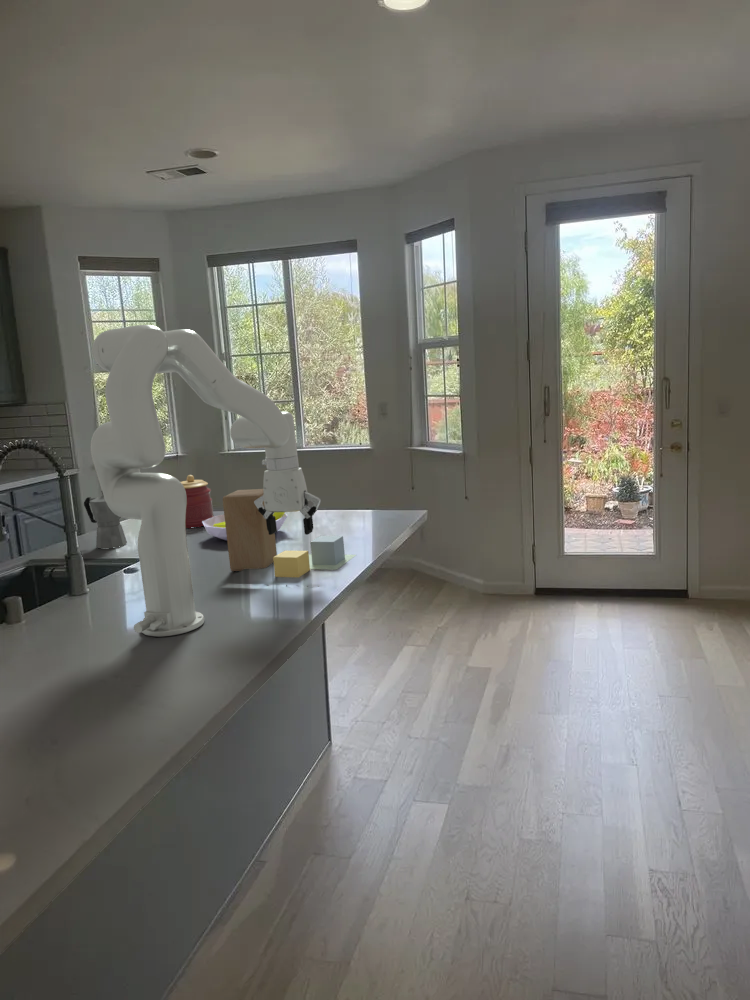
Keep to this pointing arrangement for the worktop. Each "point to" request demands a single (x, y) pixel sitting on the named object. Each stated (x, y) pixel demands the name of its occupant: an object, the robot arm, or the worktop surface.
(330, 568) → the plate
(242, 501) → the block
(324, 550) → the slate brick
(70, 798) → the worktop surface
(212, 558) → the worktop surface
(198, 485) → the canister
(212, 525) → the fruit bowl
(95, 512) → the coffeepot
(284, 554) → the ochre brick
